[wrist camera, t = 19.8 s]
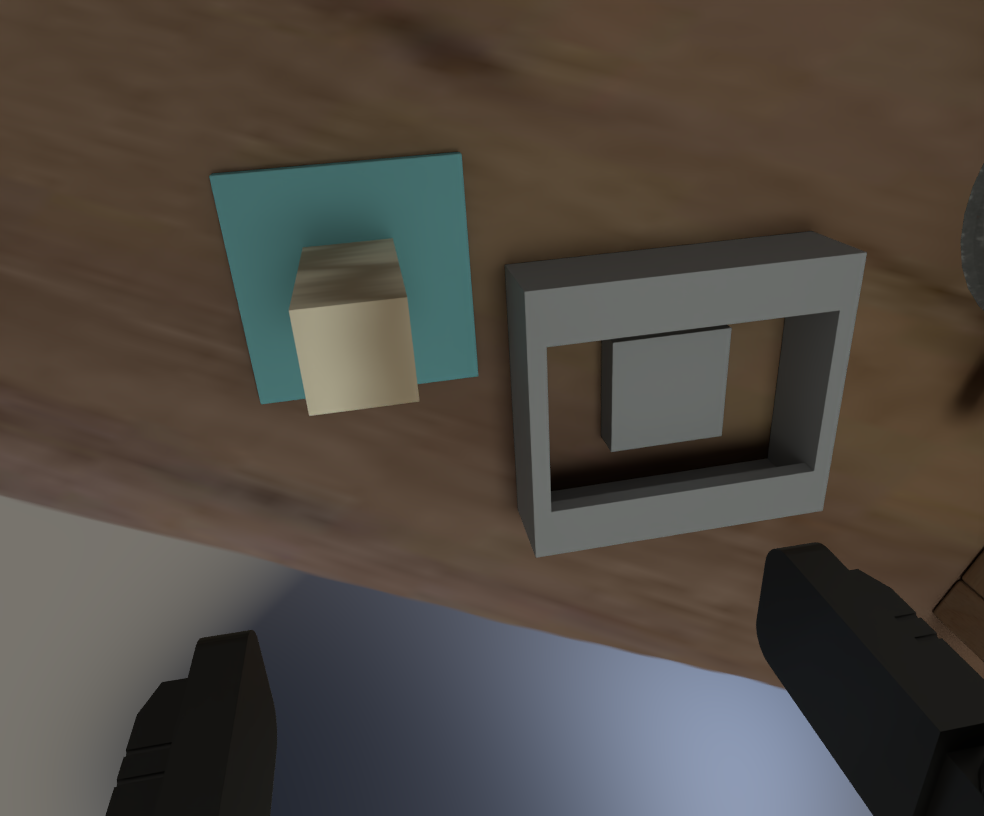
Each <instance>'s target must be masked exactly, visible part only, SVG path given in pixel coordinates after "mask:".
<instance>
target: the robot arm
mask: <svg viewBox="0 0 984 816" xmlns="http://www.w3.org/2000/svg"><path fill="white" fill-rule="evenodd" d="M756 630H757V637H758V641H759V645H760V648H761V650H762V653H763V655H764V657H765V659H766V661H767V662H768V664H769V665H770V667H771V668H772V670H773V671H774V673H775V674H776V675H777V677H778V678H779V680H780V681H781V683H782V684H783V686H784V687H785V688H786V690H787V691H788V693H789V694H790V696H791V697H792V699H793V700H794V702H795V703H796V704H797V706H798V707H799V709H800V710H801V712H802V713H803V715H804V716H805V717H806V719H807V720H808V722H809V723H810V725H811V726H812V728H813V729H814V730H815V732H816V733H817V735H818V736H819V738H820V739H821V741H822V742H823V743H824V745H825V746H826V748H827V749H828V751H829V752H830V754H831V755H832V757H833V758H834V759H835V761H836V762H837V764H838V765H839V767H840V768H841V770H842V771H843V772H844V774H845V775H846V777H847V778H848V780H849V781H850V782H851V784H852V785H853V787H854V788H855V790H856V791H857V793H858V794H859V796H860V797H861V798H862V800H863V801H864V803H865V804H866V806H867V807H868V809H869V810H870V811H871V813H872V814H873V816H984V679H983V678H982V677H981V676H980V675H979V674H978V673H977V672H976V671H975V670H974V669H973V668H972V667H971V666H970V665H969V664H968V663H967V662H966V661H965V660H964V659H963V658H962V657H960V656H959V655H958V654H957V653H956V652H955V651H954V650H953V649H952V648H951V647H950V646H949V645H948V644H947V643H946V642H945V641H944V640H943V639H942V638H941V639H939V638H938V637H937V633H936V632H935V631H934V630H933V629H932V628H931V627H930V626H929V625H928V624H927V623H926V622H925V621H924V620H923V619H922V618H917V616H916V612H915V611H914V610H913V609H912V608H911V607H910V606H909V605H908V604H907V603H906V602H905V601H904V600H903V599H902V598H901V597H900V596H899V595H898V594H896V593H895V592H894V591H893V590H892V589H891V588H890V587H888V586H886V585H885V584H883V583H881V582H879V581H878V580H876V579H874V578H872V577H871V576H869V575H867V574H866V573H864V572H862V571H860V570H859V569H855V570H848V569H847V568H846V567H845V566H844V565H843V564H842V563H841V562H840V561H839V560H838V558H837V557H836V556H835V555H834V554H833V553H832V552H831V551H830V550H829V549H828V548H827V547H826V546H824V545H823V544H821V543H816V542H815V543H808V544H802V545H796V546H789V547H783V548H777V549H772V550H771V551H770V552H769V553H768V555H767V557H766V561H765V568H764V574H763V581H762V587H761V594H760V601H759V607H758V614H757V621H756ZM276 749H277V723H276V713H275V707H274V702H273V698H272V694H271V690H270V686H269V682H268V678H267V674H266V670H265V666H264V662H263V658H262V655H261V650H260V646H259V642H258V639H257V636H256V633H255V632H254V631H253V630H248V631H242V632H236V633H230V634H224V635H217V636H211V637H204V638H200V639H199V640H198V642H197V645H196V648H195V652H194V655H193V659H192V664H191V667H190V671H189V675H188V678H185V679H179V680H173V681H167V682H162V683H161V684H160V686H159V687H158V688H157V689H156V691H155V692H154V693H153V695H152V696H151V697H150V699H149V700H148V701H147V702H146V704H145V705H144V706H143V708H142V709H141V710H140V712H139V713H138V714H137V717H136V720H135V723H134V726H133V729H132V732H131V736H130V739H129V742H128V745H127V748H126V757H124V758H123V761H122V764H121V768H120V771H119V774H118V777H117V787H114V790H113V793H112V796H111V800H110V803H109V806H108V809H107V812H106V816H270V812H271V802H272V792H273V781H274V770H275V759H276Z"/></svg>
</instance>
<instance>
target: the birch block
mask: <svg viewBox="0 0 984 816" xmlns="http://www.w3.org/2000/svg"><path fill="white" fill-rule="evenodd" d="M289 315H290V320H291V325H292V330H293V335H294V340H295V345H296V351H297V356H298V361H299V366H300V371H301V376H302V381H303V387H304V392H305V397H306V402H307V407H308V412H309V416H312V415H320V414H327V413H335V412H343V411H350V410H358V409H365V408H373V407H381V406H388V405H396V404H403V403H411V402H419V393H418V385H417V376H416V368H415V359H414V351H413V342H412V334H411V325H410V316H409V308H408V299H407V294H406V290H405V286H404V282H403V278H402V274H401V270H400V266H399V262H398V258H397V254H396V250H395V246H394V241H393V238H391V239H381V240H371V241H362V242H352V243H342V244H332V245H322V246H312V247H303V248H302V253H301V257H300V262H299V266H298V271H297V275H296V280H295V284H294V289H293V293H292V298H291V302H290V307H289Z"/></svg>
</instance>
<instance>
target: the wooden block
mask: <svg viewBox="0 0 984 816" xmlns="http://www.w3.org/2000/svg"><path fill="white" fill-rule="evenodd" d="M962 579H963V581H958V582H957V583H956V584H955V585H954V586H953V587H952V589H951V590H950V591H949V592H948V594H947V595H946V596H945V597H944V599H943V600H942V601H941V602H940V604H939V605H938V606H937V607H936V608H935V610H934V614H935V616H936V617H937V618H938V619H939V620H941V621H942V622H943V623H944V624H945V625H946V626H947V627H948V628H949V629H950V630H951V631H952V632H953V633H954V634H955V635H956V636H957V637H958V638H959V639H960V640H961V641H962V642H963V643H964V644H966V645H967V646H968V647H969V648H970V649H971V650H972V651H973V652H974V653H975V654H976V655H977V656H978V657H979V658H980V659H981V660H982V661H983V662H984V550H983V551H982V553H981V554H980V555H979V556H978V558H977V559H976V560H975V561H974V563H973V564H972V565H971V566H970V567H969V569H968V570H967V571H966V572H965V574H964V575H963V576H962Z"/></svg>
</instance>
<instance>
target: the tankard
mask: <svg viewBox="0 0 984 816" xmlns="http://www.w3.org/2000/svg"><path fill="white" fill-rule="evenodd" d="M961 256H962V268H963V272H964V275H965V279H966V282H967V286H968V289H969V290H970V292H971V294H972V295H973V297H974V299H975V300H976V302H977V304H978V305H979V307H981V308H982V309H983V310H984V164H983V166H982V168H981V170H980V172H979V175H978V177H977V179H976V181H975V183H974V185H973V188H972V191H971V194H970V198H969V201H968V204H967V208H966V211H965V214H964V221H963V229H962V236H961Z"/></svg>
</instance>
